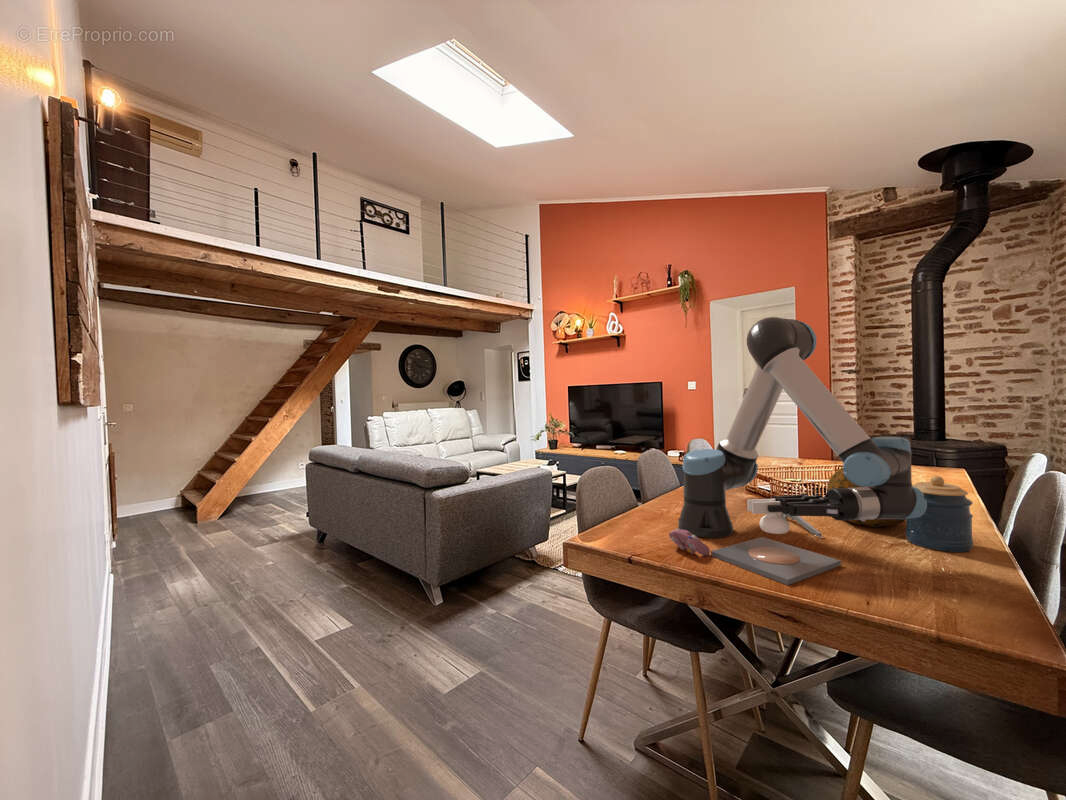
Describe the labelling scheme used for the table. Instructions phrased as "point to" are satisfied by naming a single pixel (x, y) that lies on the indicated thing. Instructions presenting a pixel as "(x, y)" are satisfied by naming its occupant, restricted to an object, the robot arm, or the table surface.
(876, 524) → the decorative pumpkin
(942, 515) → the canister
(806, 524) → the caliper
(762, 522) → the garlic bulb
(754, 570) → the slate board
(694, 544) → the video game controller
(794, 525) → the table surface
